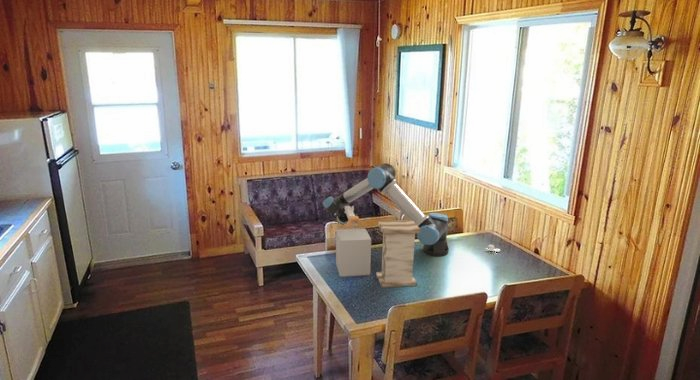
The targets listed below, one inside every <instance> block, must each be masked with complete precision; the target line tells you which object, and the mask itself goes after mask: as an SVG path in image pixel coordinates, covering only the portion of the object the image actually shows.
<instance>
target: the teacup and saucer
mask: <svg viewBox="0 0 700 380" xmlns="http://www.w3.org/2000/svg"><path fill="white" fill-rule="evenodd" d="M488 248H489V249H488ZM486 249H487V250H488V252H490V251H493V252H494V251H495V252H494V253H496V252H498V253H500V252H501V249H500V248H495V245H494V244H489V245H488V247H486Z"/></svg>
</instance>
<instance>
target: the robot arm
mask: <svg viewBox="0 0 700 380" xmlns="http://www.w3.org/2000/svg"><path fill="white" fill-rule="evenodd" d="M396 173H397V172H396V169H395V167H394V166H393V165H392V164H390V163H387V162H386V163H381V164H379V165H376V166H374V167H373V168H371V169H370V171H368V174H367V177H366V178H365V179H363V180H362V181H360V182H358V183H357V184H356V185H354V186H353V187H351V188H349V189H348V190H346V191H345V192H343V193H341V194H339V195H338V196H336V197H333V196H330V195H329V196H328V197H326V198H325V199H324V200H323V201H322V206H323V207H324V208H325V209H326V211H327V212H328V213H329V215H330V216H331V218H332V219H333V220H334V223H335V222H338V223H340V224H342V225H344V224H345V225H347V223H349V219H348V217H347V215H346V212H347V206H349V205H350V204H351V203H352V202H354V201H355V200H357V199H359V198H361V197H362V196H364V195H366V194H367V193H369V192H370V191H371V190H373V189H374V190H378V191H379V193H380V194H385V195H386V196H387V197H388V198H389V199H390V201H391V202H392V204H394V205H395V206H396V207H397V209H398V210H399V211H400V212H401V213H402V214H403V216H405V218H406V220H413V221H414V222H415V223H416V225H417V226H418V227H419V228H420V229H421V232H420V233H416V237H417V240H418V241H419V242H420V243H421V244H423V245H422V252H423V253H424V254H425V255H428V256H433V257H443V256H447V255H448V254H449V250H450V248H449V245H448V240H447V238H448V237H447V236H448V235H447V234H448V226H449V224H448V223H449V217H448V215H447V214H445V213H444V214H443V213H440V212H439V213H438V212H431V213H428V214H424V212H423V211H422V210H421V209H420V208H419V207H418V205H416V203H414V201H413V200H412V199H411V198H410V197H409V196H408V195H407V193H406V192H405V191H404V190H403V189H402V188H401V187H400V186H399V185H398V184H397V178H396ZM350 207H351V209H352V211H353V213H354V214H355V216H358V212H357V211H358V209H357V208H355V207H354V205H352V206H350ZM345 225H344V226H345Z"/></svg>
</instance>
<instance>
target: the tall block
mask: <svg viewBox="0 0 700 380" xmlns="http://www.w3.org/2000/svg"><path fill="white" fill-rule="evenodd" d="M335 231H336V232H335V265H336V269H337V272H338V274H339V275H338V276H339V277H357V276H358V277H359V276H369V275H371V265H372V264H371V260H372V259H371V257H372V256H371V255H372V238H371V236H370V234H369V233H368V231H367V229H366V228H365V227H364V228H362V227H361V228H344V229H343V228H342V229H341V228H340V229H338V228H337V229H335Z"/></svg>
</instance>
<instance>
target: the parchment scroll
mask: <svg viewBox="0 0 700 380" xmlns="http://www.w3.org/2000/svg"><path fill="white" fill-rule="evenodd" d="M377 225H378V228H380V229H379V230H381V232H382V257H381V271H376V272H375V276H376V278H377V279H378V283H379V285H380V287H381V288H397V287H399V288H400V287H412V286H418V282H417V280H416V279H415V277H414V274H413V273H414V259H415V255H414V254H415V243H416V241H415V240H416V234H417V233H420V232H421V229H420V228H419V227H418V226H417V225H416V223H415V222H414V221H413V220H408V219H399V220H398V219H396V220H395V219H394V220H377Z"/></svg>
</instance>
